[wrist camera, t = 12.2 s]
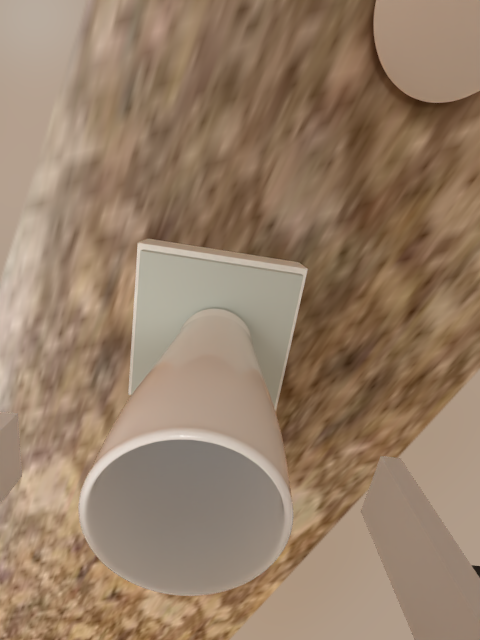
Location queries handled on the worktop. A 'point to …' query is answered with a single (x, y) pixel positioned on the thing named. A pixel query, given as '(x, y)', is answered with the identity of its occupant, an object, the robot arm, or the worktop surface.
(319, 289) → the worktop surface
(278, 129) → the worktop surface
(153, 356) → the coaster
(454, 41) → the cup
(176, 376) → the drinking glass
